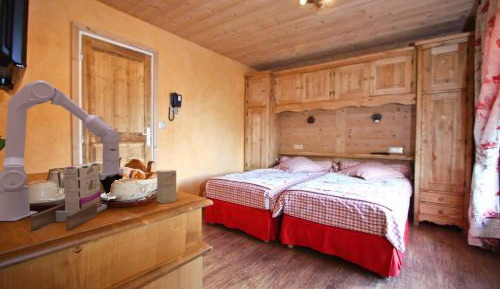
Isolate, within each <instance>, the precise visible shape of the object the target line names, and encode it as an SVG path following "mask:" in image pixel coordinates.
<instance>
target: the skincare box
mask: <svg viewBox="0 0 500 289" xmlns="http://www.w3.org/2000/svg"><path fill="white" fill-rule="evenodd" d="M156 173H157V174H156V176H157V177H156V182H157V184H156V185H157V186H156V191H157V192H156V200H157V202H158V203H160V204H168V203H174V202H177V170H175V169H165V170H157V171H156Z"/></svg>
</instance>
